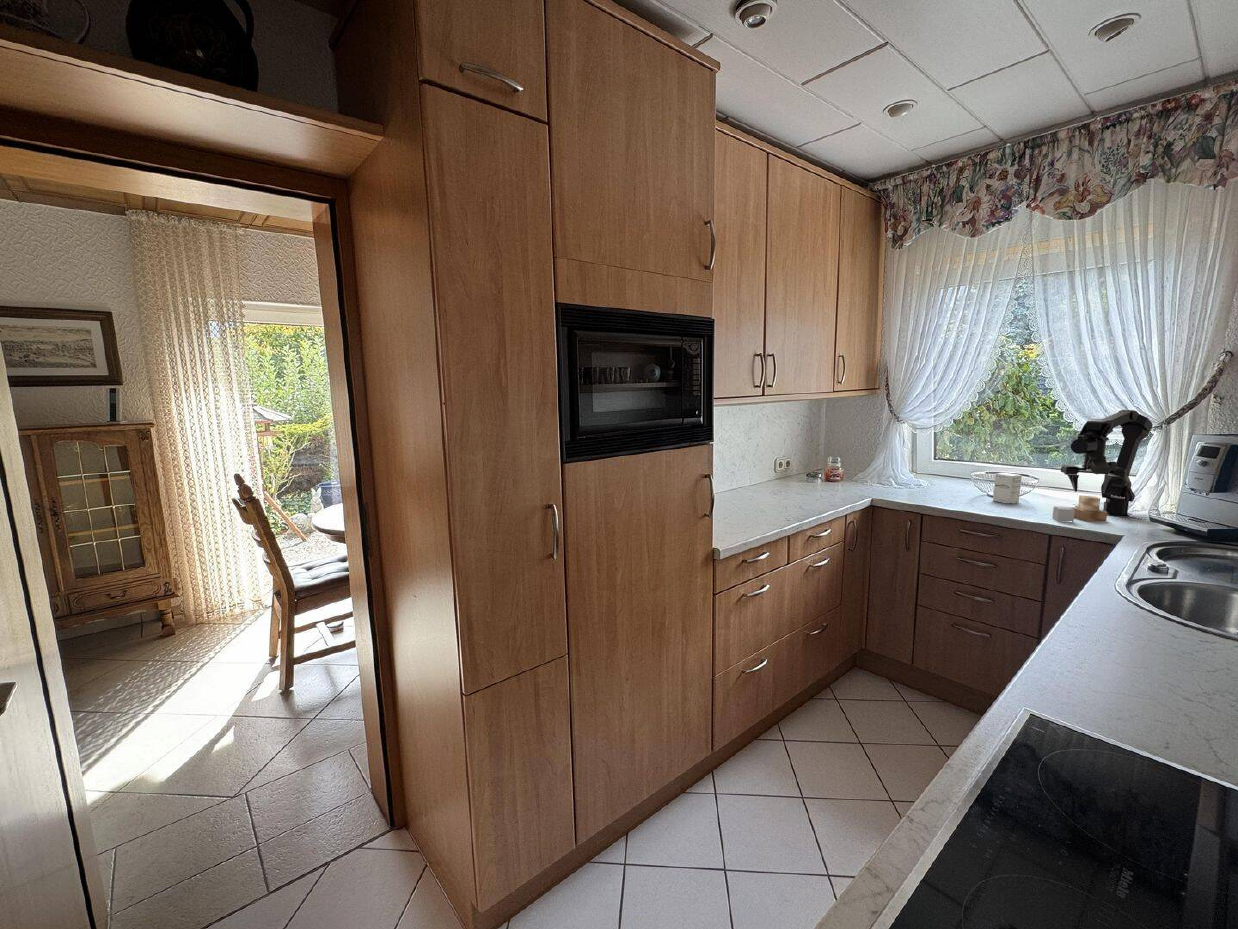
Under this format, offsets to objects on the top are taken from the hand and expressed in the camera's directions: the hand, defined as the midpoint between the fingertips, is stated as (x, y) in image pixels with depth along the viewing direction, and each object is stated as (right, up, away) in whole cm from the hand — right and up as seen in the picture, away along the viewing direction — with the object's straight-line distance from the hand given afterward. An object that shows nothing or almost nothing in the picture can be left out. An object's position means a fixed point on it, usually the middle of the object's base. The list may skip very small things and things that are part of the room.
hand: (1089, 492), depth 217 cm
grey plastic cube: (-11, -11, -1) cm, 16 cm away
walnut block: (0, -11, +2) cm, 11 cm away
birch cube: (0, -7, +1) cm, 7 cm away
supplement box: (-10, -6, +32) cm, 34 cm away
